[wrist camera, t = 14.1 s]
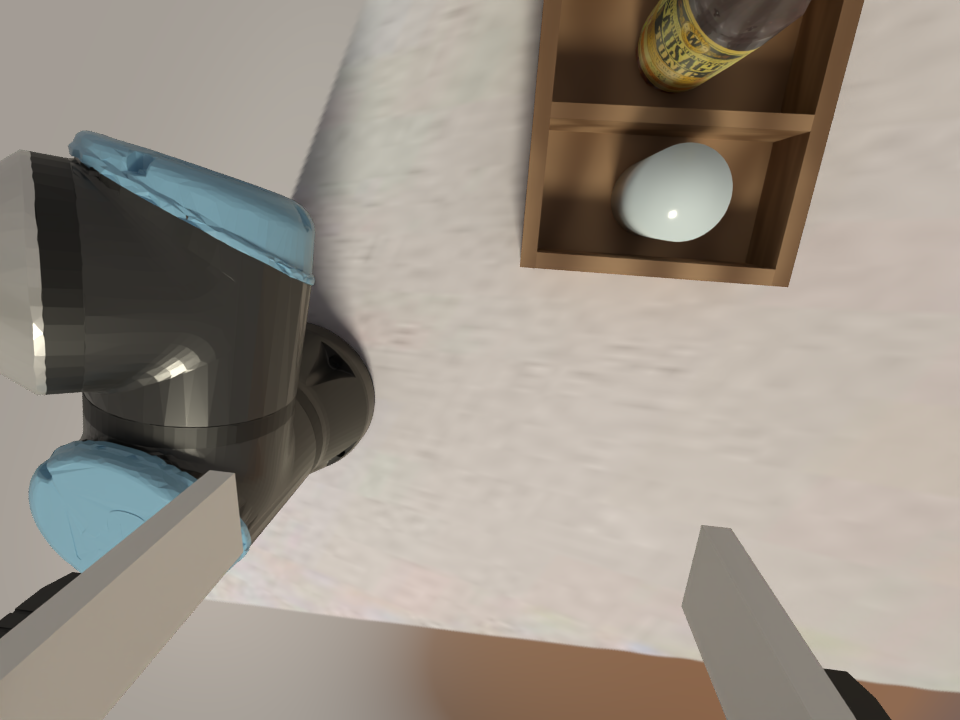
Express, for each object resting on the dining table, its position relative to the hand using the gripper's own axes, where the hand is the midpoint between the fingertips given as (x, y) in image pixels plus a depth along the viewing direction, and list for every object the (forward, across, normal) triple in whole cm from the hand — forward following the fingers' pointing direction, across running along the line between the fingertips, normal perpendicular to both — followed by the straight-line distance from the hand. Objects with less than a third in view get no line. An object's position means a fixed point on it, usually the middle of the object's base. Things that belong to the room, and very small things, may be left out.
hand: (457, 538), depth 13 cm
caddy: (+32, +11, +16) cm, 37 cm away
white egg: (+31, +11, +11) cm, 34 cm away
